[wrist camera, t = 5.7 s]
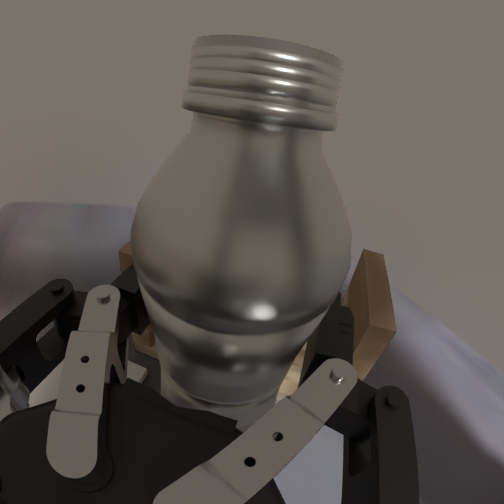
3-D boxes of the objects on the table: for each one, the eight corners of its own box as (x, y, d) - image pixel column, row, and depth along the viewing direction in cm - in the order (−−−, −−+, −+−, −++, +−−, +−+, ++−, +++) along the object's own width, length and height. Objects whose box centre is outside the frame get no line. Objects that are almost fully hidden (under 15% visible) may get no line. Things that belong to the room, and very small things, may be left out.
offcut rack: (343, 338, 26) (383, 254, 21) (336, 413, 19) (396, 331, 14) (178, 290, 28) (179, 200, 23) (134, 349, 21) (118, 250, 16)
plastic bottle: (178, 381, 20) (186, 51, 9) (271, 403, 19) (372, 81, 9) (148, 457, 14) (66, 35, 4) (256, 485, 14) (458, 79, 3)
